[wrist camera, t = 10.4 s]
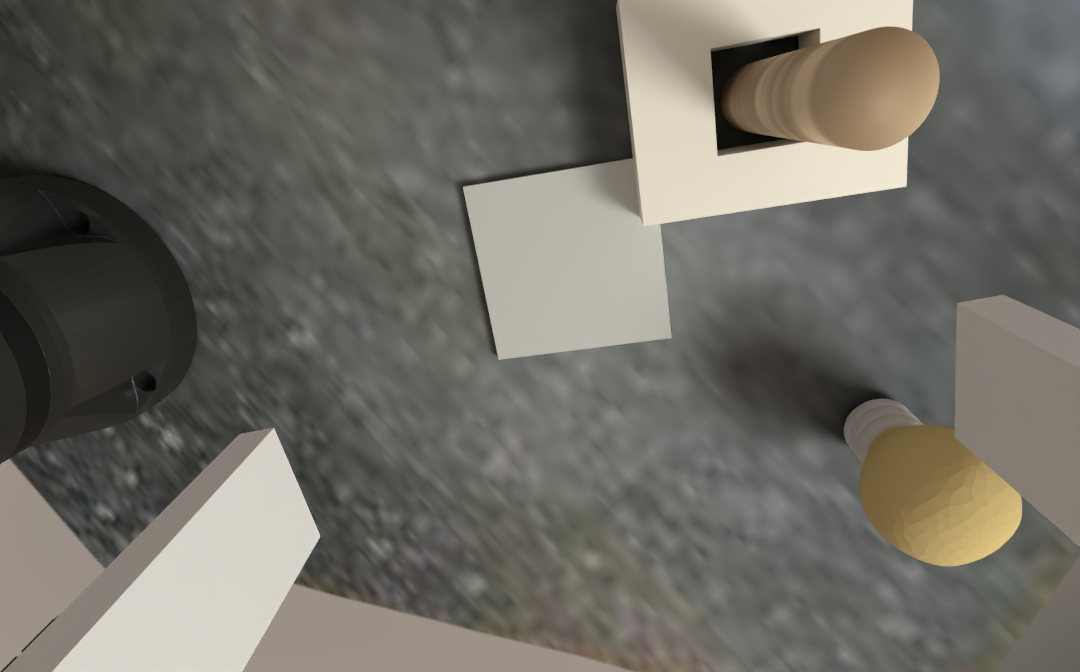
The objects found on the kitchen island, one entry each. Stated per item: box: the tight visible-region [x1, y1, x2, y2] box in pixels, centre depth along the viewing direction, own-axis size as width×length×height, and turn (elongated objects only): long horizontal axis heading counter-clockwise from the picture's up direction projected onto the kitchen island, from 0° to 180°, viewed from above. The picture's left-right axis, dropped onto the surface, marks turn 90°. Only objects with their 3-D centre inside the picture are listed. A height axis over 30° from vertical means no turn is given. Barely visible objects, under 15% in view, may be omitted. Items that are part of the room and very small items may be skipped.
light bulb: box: [844, 399, 1022, 566], centre depth 31 cm, size 6×6×10 cm
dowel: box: [720, 26, 939, 151], centre depth 23 cm, size 3×3×14 cm
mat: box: [463, 158, 672, 360], centre depth 33 cm, size 10×10×1 cm
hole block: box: [616, 0, 913, 226], centre depth 28 cm, size 12×10×3 cm
